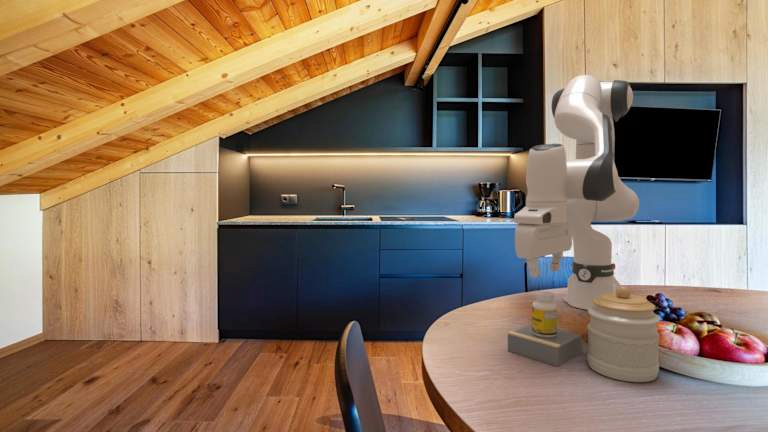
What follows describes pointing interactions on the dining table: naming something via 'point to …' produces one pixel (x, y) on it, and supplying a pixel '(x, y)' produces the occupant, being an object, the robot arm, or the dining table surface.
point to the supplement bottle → (544, 315)
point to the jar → (623, 337)
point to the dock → (545, 345)
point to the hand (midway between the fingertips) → (545, 273)
